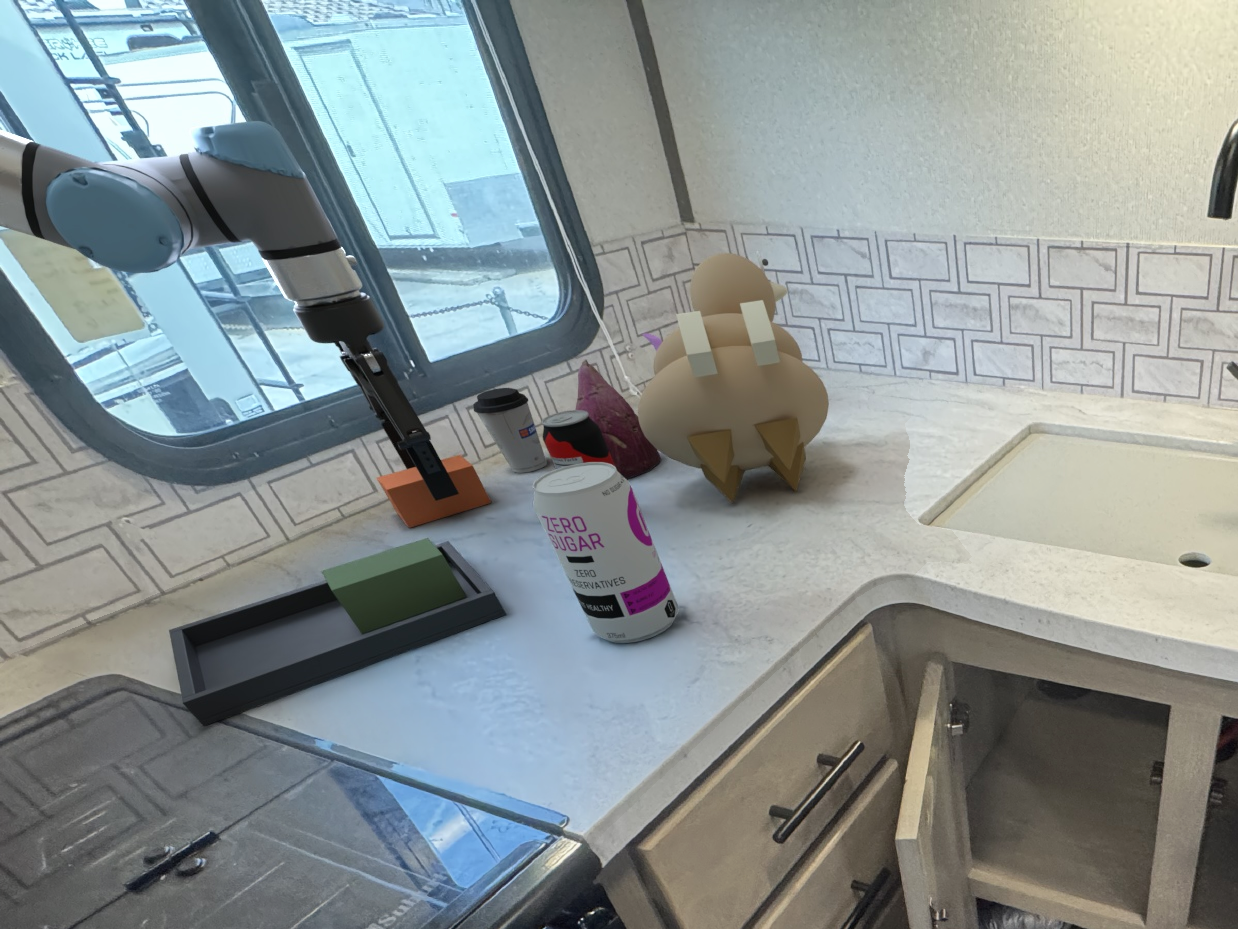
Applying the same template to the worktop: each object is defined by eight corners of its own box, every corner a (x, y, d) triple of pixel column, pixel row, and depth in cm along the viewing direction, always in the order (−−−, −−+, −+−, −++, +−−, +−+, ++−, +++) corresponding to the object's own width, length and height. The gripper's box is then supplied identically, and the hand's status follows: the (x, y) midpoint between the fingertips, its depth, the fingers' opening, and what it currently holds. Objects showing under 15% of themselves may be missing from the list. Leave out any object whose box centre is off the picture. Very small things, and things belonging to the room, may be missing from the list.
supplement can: (678, 597, 87) (622, 453, 77) (682, 634, 81) (622, 484, 72) (597, 615, 85) (529, 470, 76) (595, 654, 80) (521, 503, 70)
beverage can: (642, 511, 105) (604, 412, 97) (599, 530, 101) (555, 429, 93) (612, 502, 108) (573, 405, 100) (569, 520, 104) (524, 422, 96)
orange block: (398, 515, 109) (375, 477, 106) (479, 491, 114) (460, 454, 110) (409, 528, 105) (386, 489, 102) (491, 502, 110) (472, 465, 107)
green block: (350, 614, 88) (320, 570, 84) (452, 579, 92) (427, 537, 89) (362, 634, 84) (331, 590, 81) (467, 597, 89) (442, 554, 86)
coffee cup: (494, 477, 117) (457, 403, 111) (516, 459, 122) (482, 387, 116) (543, 474, 117) (509, 399, 110) (563, 455, 122) (532, 383, 116)
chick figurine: (775, 162, 90) (552, 187, 85) (847, 415, 90) (629, 454, 86) (796, 321, 119) (631, 347, 114) (850, 512, 120) (688, 545, 115)
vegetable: (604, 482, 122) (553, 371, 115) (672, 464, 122) (625, 352, 115) (578, 492, 113) (521, 372, 106) (652, 472, 113) (599, 351, 106)
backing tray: (187, 651, 85) (168, 629, 83) (460, 561, 97) (448, 540, 95) (203, 726, 74) (182, 703, 73) (506, 614, 87) (494, 592, 85)
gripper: (390, 304, 88) (491, 498, 102) (345, 278, 102) (439, 451, 116) (308, 320, 84) (425, 519, 98) (274, 291, 99) (380, 468, 113)
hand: (433, 483), depth 107 cm, fingers open, 13 cm apart
